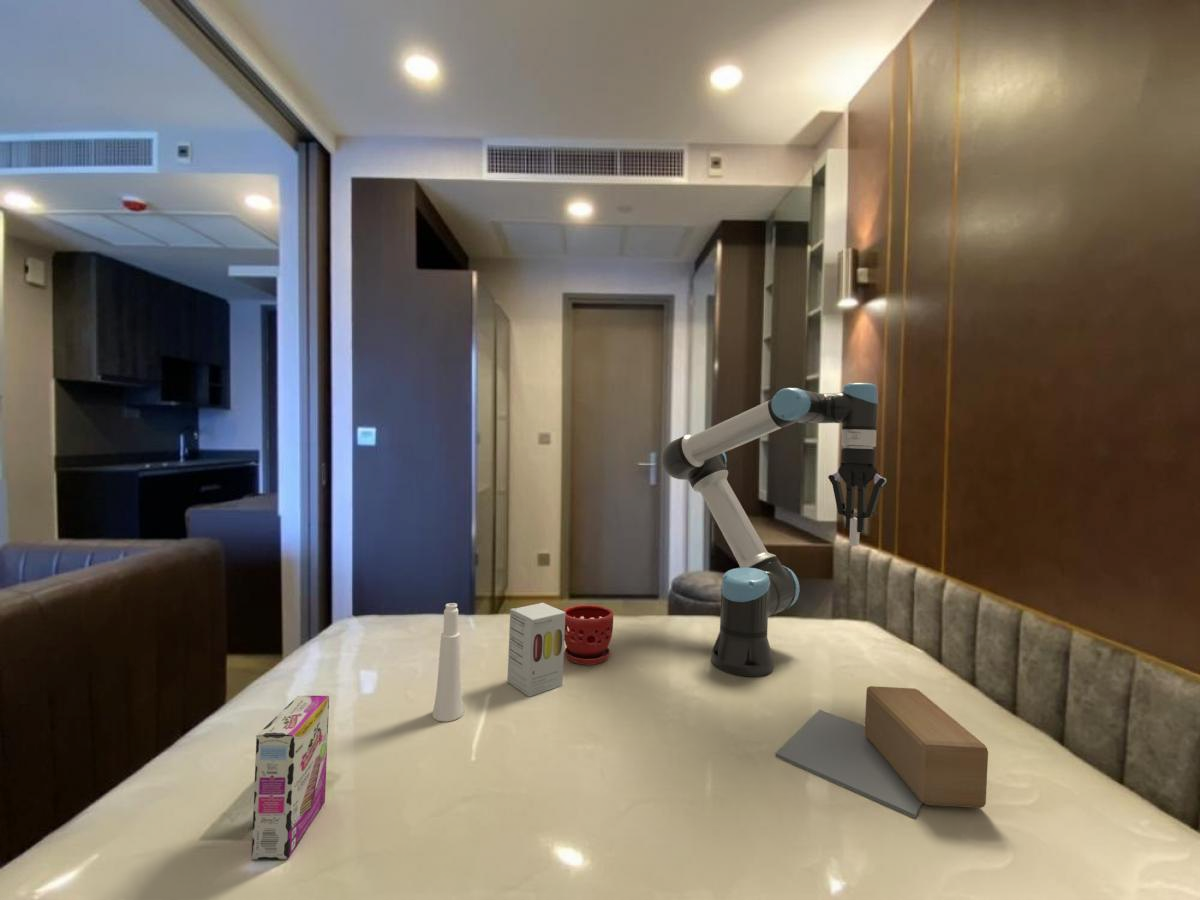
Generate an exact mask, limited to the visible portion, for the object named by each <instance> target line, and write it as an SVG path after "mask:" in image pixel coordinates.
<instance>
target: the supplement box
mask: <svg viewBox="0 0 1200 900" xmlns="http://www.w3.org/2000/svg"><path fill="white" fill-rule="evenodd" d="M509 611H510V612H509V629H508V630H509V632H508V633H509V634H508V635H509V636H508V637H509V638H508V655H507V656H508V657H507V658H508V659H507V678H506V679H507V683H509V684H510V685H512V686H513V687H515V688H516V689H517V690H519V692H521V693H523V694H525V695H526V696H527V697H529V698H530V697H532V696H536V695H539V694H542V693H544V692H547V691H550V690H553V689H556V688H560V687H562V686H563V680H564V679H563V677H564V676H563V675H564V656H565V641H564V635H565V612H563V611H564V610H561V609H559V608H556V607H554V606H552V605H550V604H547V603H546V602H539V603H535V604H530V605H526V606H521V607H516V608H510V610H509Z"/></svg>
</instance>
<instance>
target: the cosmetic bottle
mask: <svg viewBox="0 0 1200 900" xmlns="http://www.w3.org/2000/svg"><path fill="white" fill-rule="evenodd" d="M457 607H458V603H455V602H451V603H446V604H445V609H443V632H442V633H441V635H440V643H439V657H438V667H437V668H438V669H437V683H436V692H435V693H436V694H435V699H434V705H433V710H432V717H433V719H434V720H436V721H438V722H441V723H442V722H445V723H446V722H453V721H456V720H458V719H460V718H461V717H463V715H464V713H465V710H464V703H463V701H464V700H463V693H462V675H461V674H462V672H461V671H462V670H461V669H462V668H461V663H462V662H461V659H462V658H461V633H460V631H459V609H458V608H457Z"/></svg>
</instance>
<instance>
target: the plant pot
mask: <svg viewBox="0 0 1200 900" xmlns="http://www.w3.org/2000/svg"><path fill="white" fill-rule="evenodd" d="M562 611H563V612H565V635H564V645H566V647H565V648H564V656H565V657H566V658H567V659H568V660H569V661H571V662H573V663H575V664H579V665H587V666H588V665H596V664H597V665H598V664H601V663H602V662H605V661H606V660H607V659H608V658H609V657H610V654H611V649H610V648H609V645H610V643H611V640H612V636H613V630H614V613H613V611H612V610H611V609H609V608H607V607H604V606H601V605H600V606H599V605H591V604H589V605H588V604H587V605H586V604H584V605H583V604H582V605H575V606H571V607H567V608H565V609H564V610H562ZM582 617H583V618H582Z"/></svg>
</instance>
